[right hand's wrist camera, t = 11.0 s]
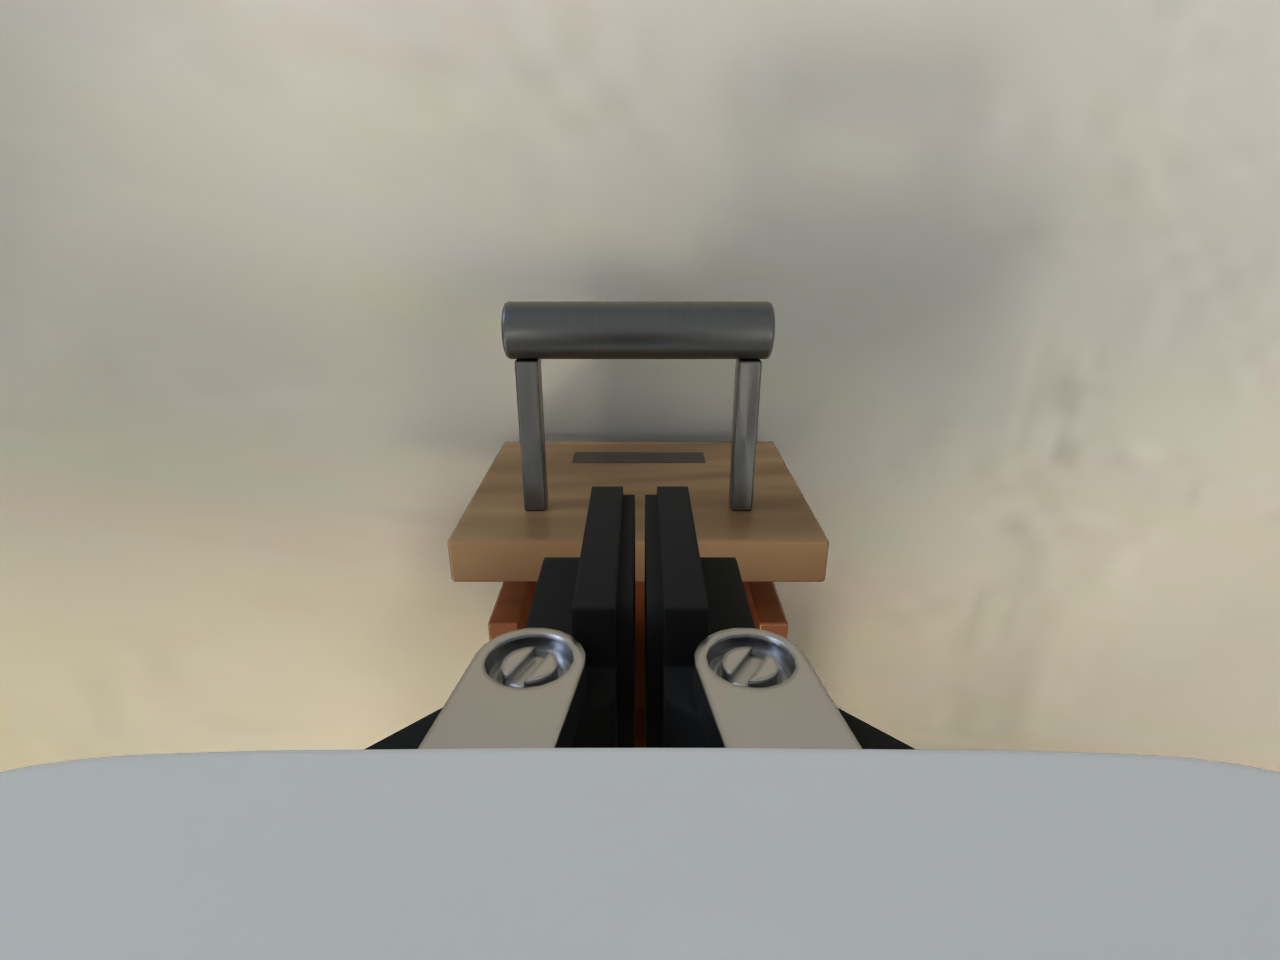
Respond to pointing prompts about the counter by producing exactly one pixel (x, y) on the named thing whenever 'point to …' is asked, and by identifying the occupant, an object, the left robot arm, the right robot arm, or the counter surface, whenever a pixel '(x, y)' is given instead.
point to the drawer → (637, 465)
